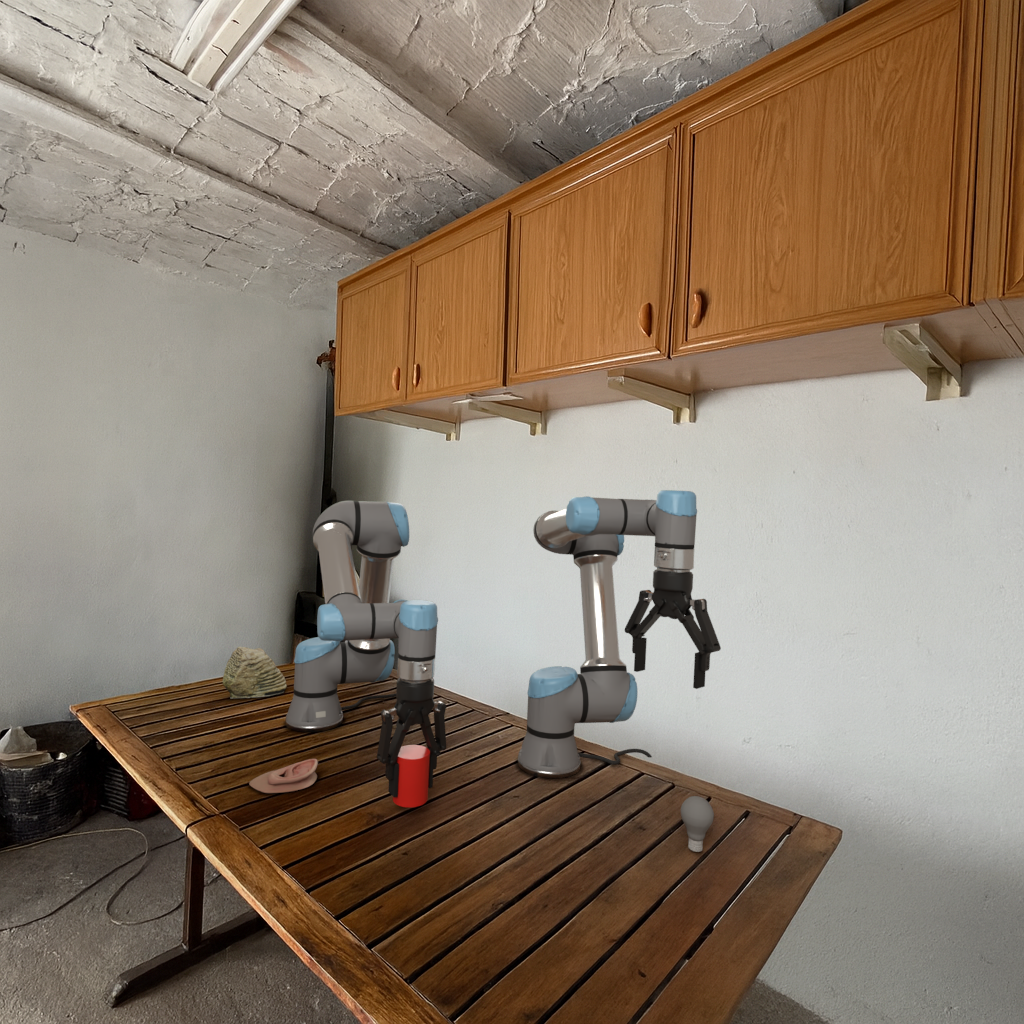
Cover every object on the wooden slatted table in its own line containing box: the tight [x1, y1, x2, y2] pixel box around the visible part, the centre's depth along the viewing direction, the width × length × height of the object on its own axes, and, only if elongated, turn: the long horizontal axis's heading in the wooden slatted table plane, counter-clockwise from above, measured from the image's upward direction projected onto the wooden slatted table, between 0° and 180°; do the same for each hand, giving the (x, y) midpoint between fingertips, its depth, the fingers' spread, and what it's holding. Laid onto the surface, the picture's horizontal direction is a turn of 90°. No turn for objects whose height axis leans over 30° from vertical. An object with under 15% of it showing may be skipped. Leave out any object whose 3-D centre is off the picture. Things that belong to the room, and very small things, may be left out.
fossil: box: [222, 646, 288, 699], centre depth 198 cm, size 9×18×15 cm, turn 132°
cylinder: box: [392, 744, 430, 808], centre depth 128 cm, size 7×7×10 cm
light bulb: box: [680, 795, 715, 853], centre depth 119 cm, size 6×6×10 cm
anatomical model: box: [248, 758, 319, 794], centre depth 139 cm, size 13×4×12 cm
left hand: (410, 789), depth 129 cm, fingers closed on cylinder, 7 cm apart
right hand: (668, 678), depth 123 cm, fingers open, 13 cm apart
